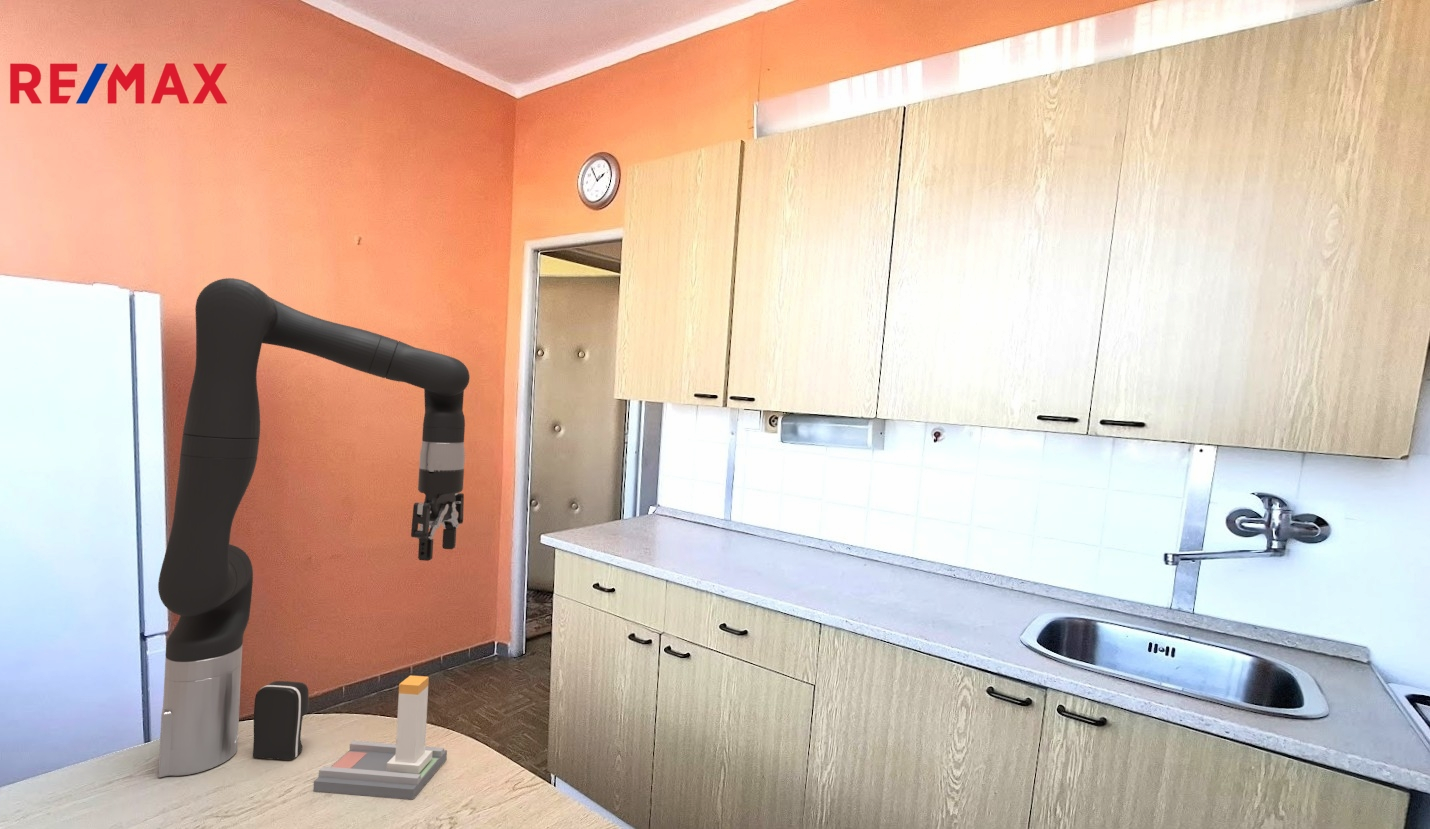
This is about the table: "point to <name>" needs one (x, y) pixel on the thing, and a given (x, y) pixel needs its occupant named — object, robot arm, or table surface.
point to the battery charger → (279, 720)
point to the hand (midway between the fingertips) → (437, 554)
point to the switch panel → (375, 772)
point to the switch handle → (411, 727)
